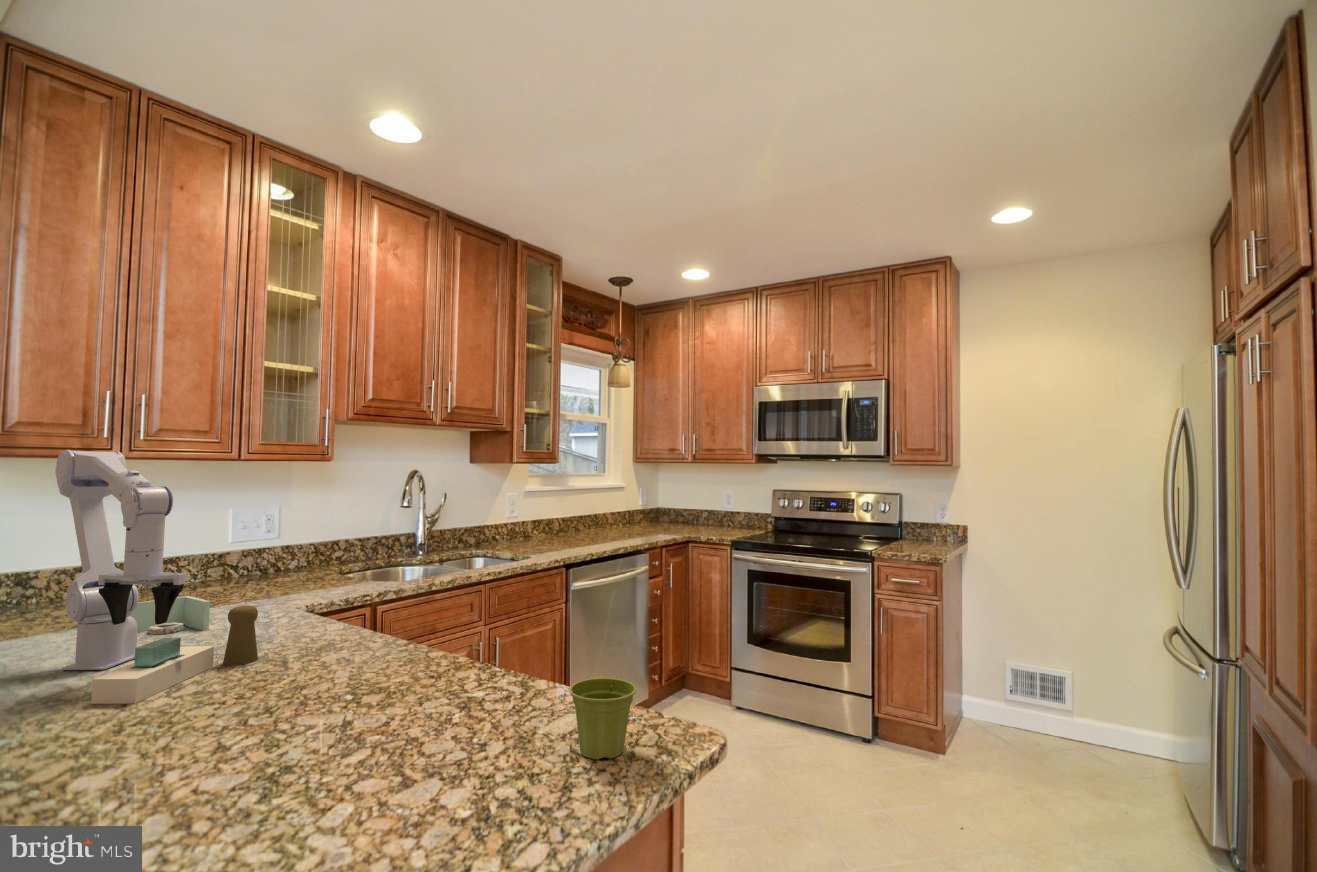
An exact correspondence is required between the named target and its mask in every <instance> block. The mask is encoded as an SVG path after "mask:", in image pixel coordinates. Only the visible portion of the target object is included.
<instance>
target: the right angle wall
mask: <svg viewBox="0 0 1317 872" xmlns="http://www.w3.org/2000/svg"><path fill="white" fill-rule="evenodd" d="M210 609H211V601H210V600H207V599H202V598H198V597H194V596H189V595H186V596H177V598H176V600H175V602H174V604H173V606H172V608H171V611H170V613H169V616H168V619H167V622H165V623H162V624H155V601H154V600H149V601H148V600H146V601H141V602H139V601H138V604H137V606H136V608H135V609H134V611H133V612H131V613H130V616H131V617H133V618H134V619H135V621H136V623H137V633H141V632H146V631H147V634H148V635H149V636H156V635H157V636H158V635H159V636H160V635H169V634H175V633H177V632H179V631H182V630H183V631H184V629H185V626H187V627H190V628H193V629H196V630H200V631H204V632H205V631H209V628H210V627H209V626H210V612H211V611H210Z"/></svg>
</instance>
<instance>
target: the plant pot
mask: <svg viewBox="0 0 1317 872" xmlns="http://www.w3.org/2000/svg"><path fill="white" fill-rule="evenodd" d="M568 692H569V694H570V696H572V701H573V705H574V708H575V717H576V725H577V735H578V743H579V744H578V746H579V751H580V754H581V755H582V756H583V757H586V758H589V759H592V760H600V759H602V758H608V759H613V758H616V757H618V756H620V755H622V753H623V752H624V750H625V749H624V748H625V742H626V736H627V729H628V722H629V718H630V717H629V716H630V711H631V710H630V709H631V704H632V703H633V701H634V695H635V694H636V693H637V686H636V684H635V683H632V682H630V681H628V680H626V679H622V678H621V679H620V678H615V677H613V678H612V677H595V678H588V679H587V678H586V679H583V680H579V681H576V682H574V683H572V684H571V685H570V687H569V691H568Z"/></svg>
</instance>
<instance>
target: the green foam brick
mask: <svg viewBox="0 0 1317 872" xmlns="http://www.w3.org/2000/svg"><path fill="white" fill-rule="evenodd" d="M181 639H182V638H181V637H162V638H159V639H157V640H154V641H151V642H148V643H146V644H143V645H140V646H136V648H135V658H134V665H136V668H155V667H158V663H159V662H161V661H164V660H175V659H177V658H178V655H179V654H180V647H181V641H182V640H181Z"/></svg>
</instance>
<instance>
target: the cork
mask: <svg viewBox="0 0 1317 872" xmlns="http://www.w3.org/2000/svg"><path fill="white" fill-rule="evenodd" d="M258 616H259V611H258V608H257V607H256V606H253V605H239V606H235V607H233V608H231V609H230V610H229V611H228V614H227V620H228V622H229V623H230V624H229V625H230V626H229V627H230V628H229V631H228V637H227V641H226V646H225V651H224V657H223V661H222V664H223V665H225V666H241V665H246V664H252V663H253V662H254V663H255V662H256V661H258V660H259V655H258V644H257V635H256V627H255V626H256V625H255V624H256V623H255V621H256V620H257V619H258Z"/></svg>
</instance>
